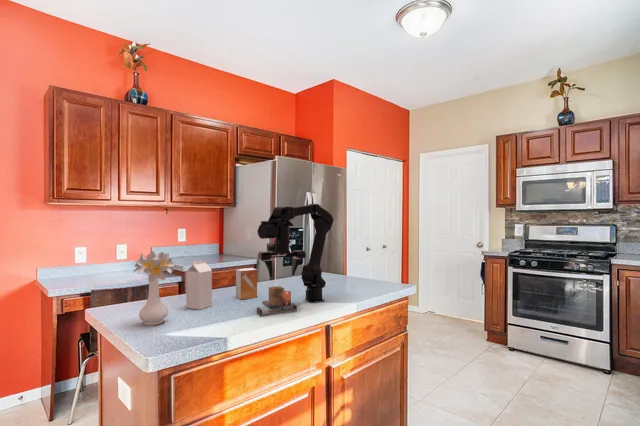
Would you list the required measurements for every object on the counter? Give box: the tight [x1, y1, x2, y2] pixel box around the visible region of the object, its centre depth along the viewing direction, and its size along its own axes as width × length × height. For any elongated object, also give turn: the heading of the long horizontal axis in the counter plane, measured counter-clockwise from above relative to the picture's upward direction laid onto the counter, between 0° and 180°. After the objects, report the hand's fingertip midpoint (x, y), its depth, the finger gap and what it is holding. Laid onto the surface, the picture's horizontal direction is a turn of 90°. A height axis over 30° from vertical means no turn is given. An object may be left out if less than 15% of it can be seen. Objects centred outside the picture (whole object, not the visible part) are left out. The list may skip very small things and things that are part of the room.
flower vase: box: [133, 250, 176, 326], centre depth 127 cm, size 13×18×25 cm
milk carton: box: [185, 259, 213, 311], centre depth 148 cm, size 7×7×19 cm
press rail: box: [256, 302, 298, 318], centre depth 139 cm, size 15×4×2 cm, turn 117°
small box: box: [235, 267, 258, 300], centre depth 165 cm, size 8×6×13 cm
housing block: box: [268, 285, 285, 304], centre depth 152 cm, size 5×5×6 cm
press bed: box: [262, 299, 283, 310], centre depth 152 cm, size 9×10×1 cm
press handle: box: [279, 290, 293, 310], centre depth 141 cm, size 4×4×6 cm
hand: (282, 276), depth 145 cm, fingers open, 9 cm apart
